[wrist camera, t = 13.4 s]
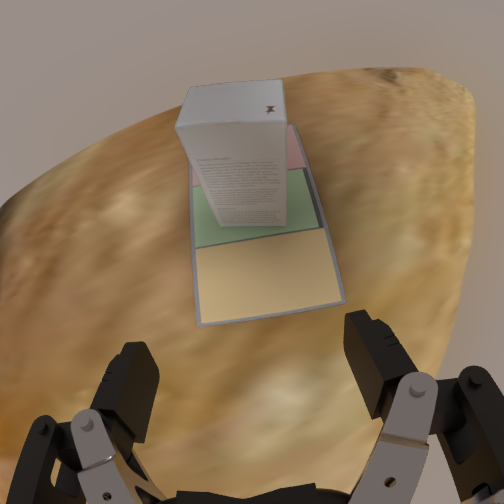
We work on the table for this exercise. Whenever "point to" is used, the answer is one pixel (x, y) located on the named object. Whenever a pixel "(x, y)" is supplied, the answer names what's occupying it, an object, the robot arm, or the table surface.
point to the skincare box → (238, 149)
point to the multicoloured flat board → (264, 255)
